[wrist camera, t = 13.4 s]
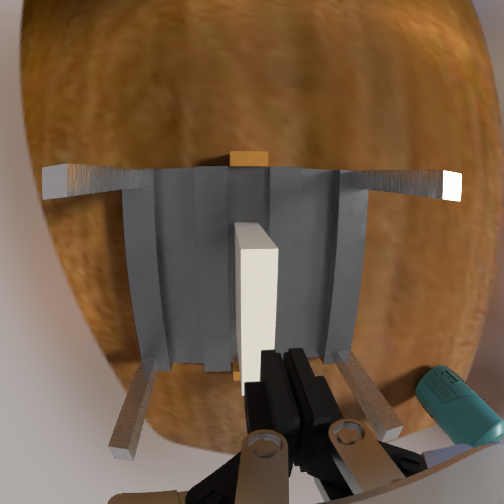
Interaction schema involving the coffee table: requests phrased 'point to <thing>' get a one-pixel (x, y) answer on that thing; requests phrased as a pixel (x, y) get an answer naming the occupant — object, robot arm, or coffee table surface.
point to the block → (254, 297)
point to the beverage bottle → (458, 408)
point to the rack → (223, 264)
